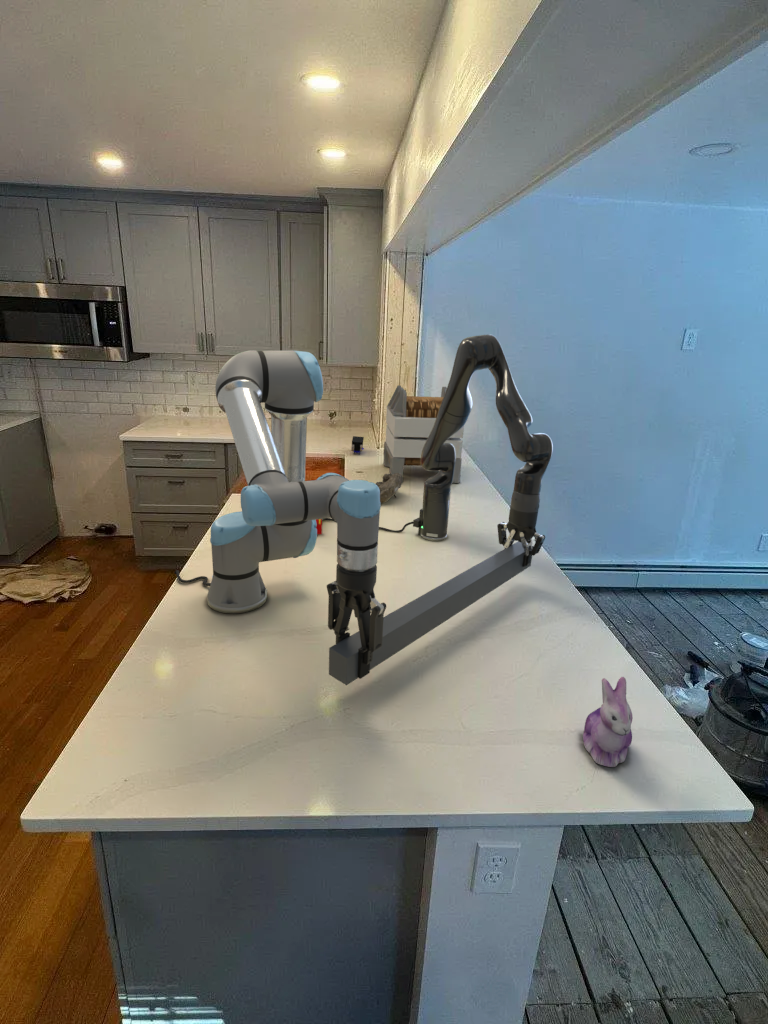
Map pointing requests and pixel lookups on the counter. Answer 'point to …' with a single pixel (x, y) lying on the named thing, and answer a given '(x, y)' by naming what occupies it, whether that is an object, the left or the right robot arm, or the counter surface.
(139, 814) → the counter surface
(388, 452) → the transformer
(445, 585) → the post
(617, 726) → the figurine
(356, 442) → the figurine character
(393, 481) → the fossil
